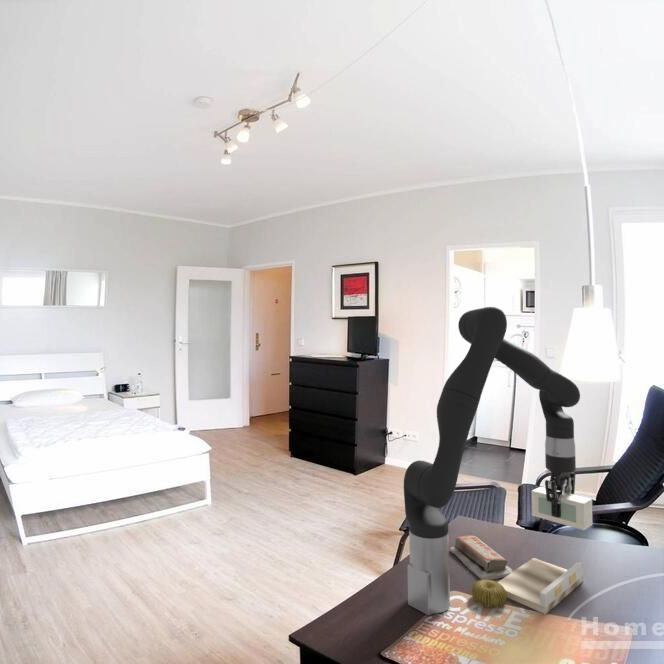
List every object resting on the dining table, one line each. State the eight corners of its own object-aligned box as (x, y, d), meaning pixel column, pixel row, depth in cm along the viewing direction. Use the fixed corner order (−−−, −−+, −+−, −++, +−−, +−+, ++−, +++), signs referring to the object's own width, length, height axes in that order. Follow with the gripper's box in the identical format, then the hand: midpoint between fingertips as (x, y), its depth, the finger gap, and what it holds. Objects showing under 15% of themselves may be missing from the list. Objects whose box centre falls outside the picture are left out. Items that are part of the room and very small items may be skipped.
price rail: (546, 608, 106) (545, 594, 106) (540, 605, 107) (539, 592, 107) (583, 575, 120) (583, 563, 120) (578, 573, 121) (577, 561, 121)
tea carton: (584, 530, 122) (583, 503, 122) (531, 515, 133) (531, 490, 133) (592, 524, 126) (592, 498, 126) (540, 510, 136) (540, 486, 136)
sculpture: (467, 588, 111) (475, 573, 118) (468, 605, 111) (476, 589, 118) (503, 597, 107) (509, 581, 113) (503, 615, 107) (509, 597, 113)
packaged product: (448, 535, 138) (478, 531, 141) (448, 552, 138) (478, 547, 141) (482, 564, 121) (516, 559, 123) (483, 582, 121) (516, 577, 123)
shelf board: (545, 614, 106) (545, 607, 106) (493, 591, 116) (493, 585, 116) (583, 581, 120) (583, 575, 120) (533, 563, 130) (533, 557, 130)
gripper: (562, 459, 122) (563, 525, 122) (585, 450, 131) (586, 511, 131) (534, 454, 128) (535, 516, 127) (557, 446, 137) (558, 504, 137)
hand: (561, 513), depth 129 cm, fingers closed on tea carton, 5 cm apart
